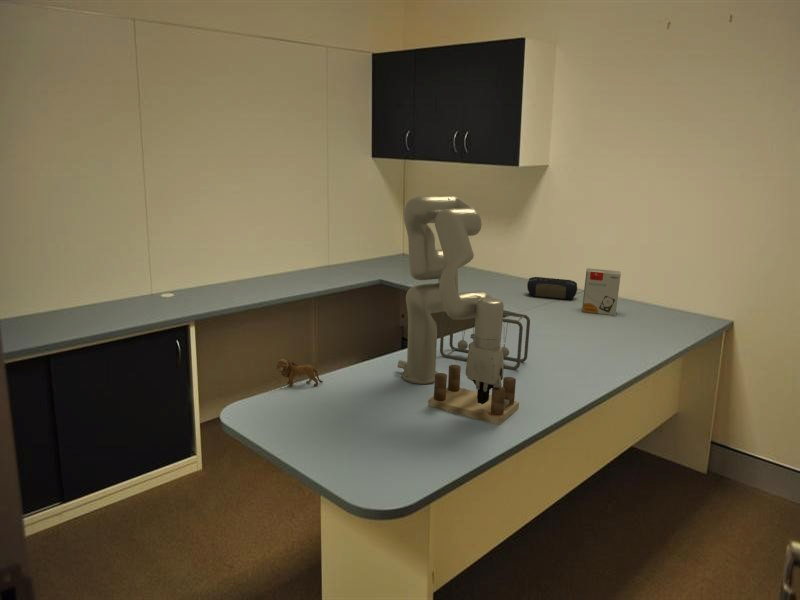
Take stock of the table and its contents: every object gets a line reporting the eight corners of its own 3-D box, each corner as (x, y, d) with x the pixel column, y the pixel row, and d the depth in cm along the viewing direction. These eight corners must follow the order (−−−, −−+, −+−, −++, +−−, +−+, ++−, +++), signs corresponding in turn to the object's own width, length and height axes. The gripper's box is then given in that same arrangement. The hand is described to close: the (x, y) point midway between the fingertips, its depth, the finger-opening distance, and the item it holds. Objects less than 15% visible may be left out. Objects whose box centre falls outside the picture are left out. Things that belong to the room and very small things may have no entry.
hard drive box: (581, 312, 305) (585, 270, 300) (582, 308, 312) (586, 267, 307) (616, 315, 300) (620, 273, 296) (615, 311, 307) (620, 270, 303)
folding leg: (504, 398, 194) (505, 376, 192) (515, 400, 192) (517, 378, 190) (488, 412, 183) (490, 389, 181) (500, 415, 181) (502, 392, 179)
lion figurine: (276, 389, 202) (276, 362, 200) (276, 383, 207) (275, 356, 205) (323, 386, 205) (323, 359, 203) (321, 380, 210) (321, 354, 208)
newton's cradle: (439, 356, 237) (441, 309, 233) (449, 349, 246) (452, 303, 242) (519, 371, 224) (522, 322, 220) (527, 362, 233) (530, 315, 229)
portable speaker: (525, 297, 332) (526, 278, 330) (527, 293, 341) (529, 274, 339) (575, 302, 324) (577, 282, 322) (576, 297, 334) (578, 278, 331)
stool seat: (428, 405, 193) (429, 375, 190) (449, 391, 204) (451, 362, 202) (499, 424, 181) (502, 393, 179) (518, 408, 193) (520, 378, 190)
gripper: (457, 338, 183) (453, 398, 188) (504, 351, 174) (498, 414, 179) (471, 333, 189) (467, 391, 194) (517, 344, 180) (511, 405, 185)
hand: (482, 402), depth 186 cm, fingers closed
